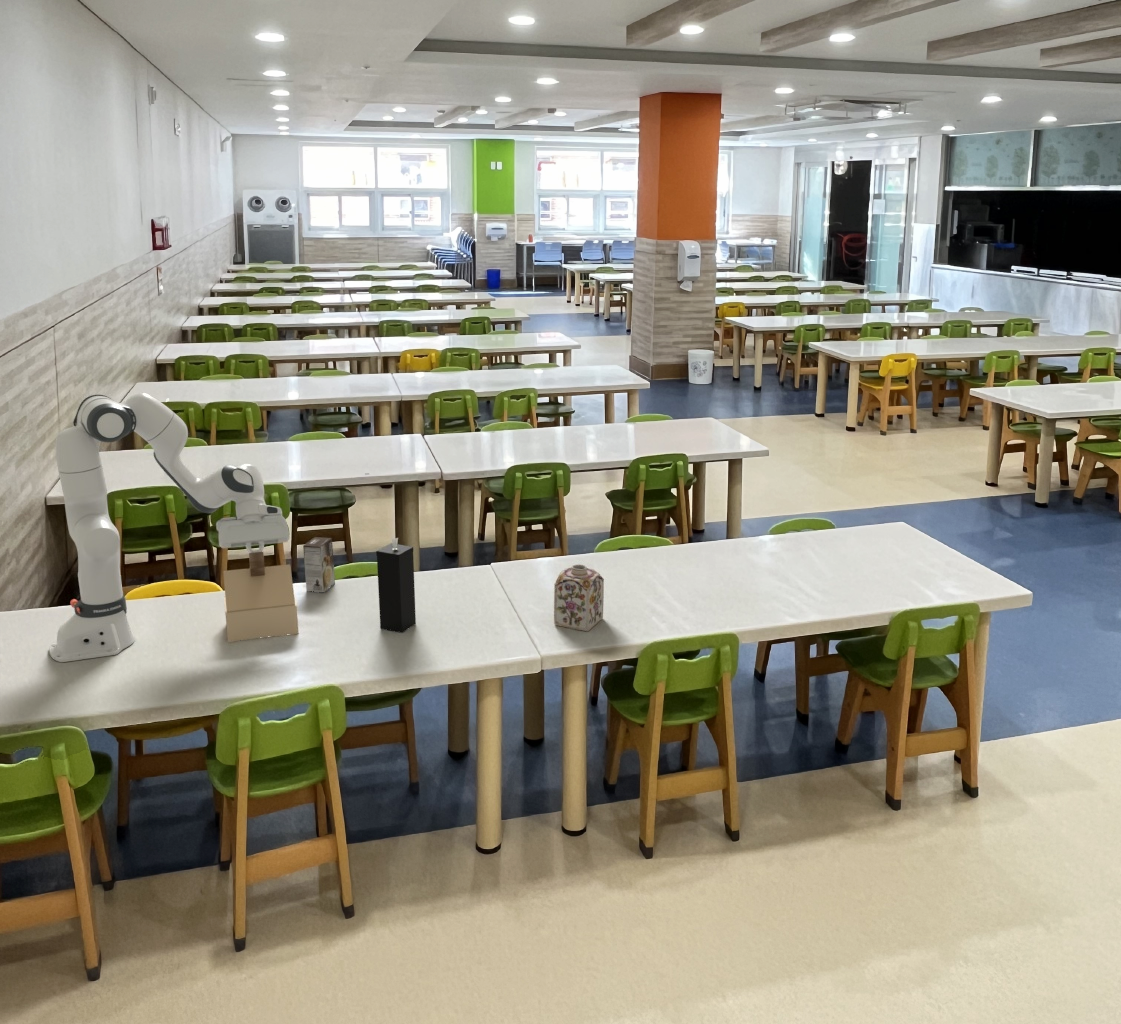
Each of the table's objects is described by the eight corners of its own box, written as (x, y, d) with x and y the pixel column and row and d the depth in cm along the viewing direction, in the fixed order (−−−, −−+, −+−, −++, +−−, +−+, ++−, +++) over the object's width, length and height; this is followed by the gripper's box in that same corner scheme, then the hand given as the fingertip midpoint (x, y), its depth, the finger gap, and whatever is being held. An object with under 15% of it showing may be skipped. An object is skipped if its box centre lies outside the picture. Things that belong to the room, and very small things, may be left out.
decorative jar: (552, 625, 325) (553, 569, 320) (569, 612, 335) (569, 557, 330) (589, 632, 321) (589, 575, 315) (604, 618, 331) (605, 563, 325)
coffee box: (317, 581, 359) (314, 536, 354) (335, 583, 358) (332, 537, 353) (305, 591, 351) (302, 545, 346) (324, 593, 349) (321, 546, 345)
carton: (228, 641, 313) (225, 613, 310) (226, 623, 325) (224, 595, 323) (298, 633, 318) (296, 605, 316) (294, 616, 331) (292, 588, 329)
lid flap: (226, 612, 310) (225, 596, 303) (223, 572, 318) (221, 555, 311) (295, 605, 316) (294, 589, 309) (290, 566, 323) (289, 549, 316)
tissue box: (416, 624, 326) (413, 536, 318) (402, 633, 319) (398, 544, 311) (394, 619, 329) (390, 532, 321) (379, 628, 322) (375, 540, 314)
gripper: (214, 513, 316) (218, 556, 310) (286, 507, 322) (291, 548, 316) (215, 523, 321) (219, 565, 315) (286, 517, 327) (291, 558, 321)
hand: (256, 557), depth 316 cm, fingers closed, pressing on lid flap
